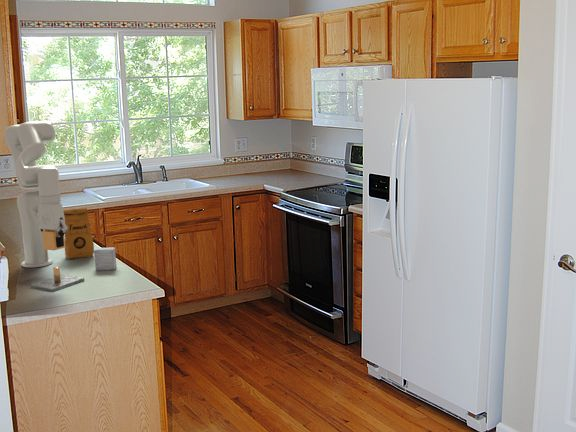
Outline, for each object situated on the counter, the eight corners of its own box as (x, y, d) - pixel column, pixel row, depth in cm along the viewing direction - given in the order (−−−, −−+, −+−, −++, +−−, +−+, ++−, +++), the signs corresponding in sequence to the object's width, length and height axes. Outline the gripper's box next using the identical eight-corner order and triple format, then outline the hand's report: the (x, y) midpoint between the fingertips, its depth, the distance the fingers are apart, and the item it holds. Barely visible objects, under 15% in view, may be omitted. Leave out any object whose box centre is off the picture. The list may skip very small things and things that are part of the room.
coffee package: (95, 258, 310) (91, 209, 306) (65, 261, 306) (61, 211, 302) (93, 253, 319) (90, 205, 315) (65, 255, 315) (61, 207, 311)
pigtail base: (30, 287, 268) (29, 271, 266) (63, 276, 281) (61, 261, 280) (52, 291, 262) (50, 274, 260) (84, 280, 275) (83, 264, 274)
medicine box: (116, 267, 294) (115, 247, 292) (114, 270, 290) (113, 249, 288) (97, 267, 294) (96, 247, 292) (95, 270, 289) (93, 250, 288)
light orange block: (43, 249, 267) (42, 231, 266) (55, 246, 272) (53, 228, 271) (54, 250, 264) (52, 232, 263) (65, 247, 269) (63, 229, 268)
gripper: (26, 200, 266) (31, 246, 269) (58, 202, 257) (63, 250, 261) (42, 197, 272) (46, 242, 276) (73, 199, 264) (78, 246, 267)
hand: (54, 245), depth 268 cm, fingers closed on light orange block, 5 cm apart
